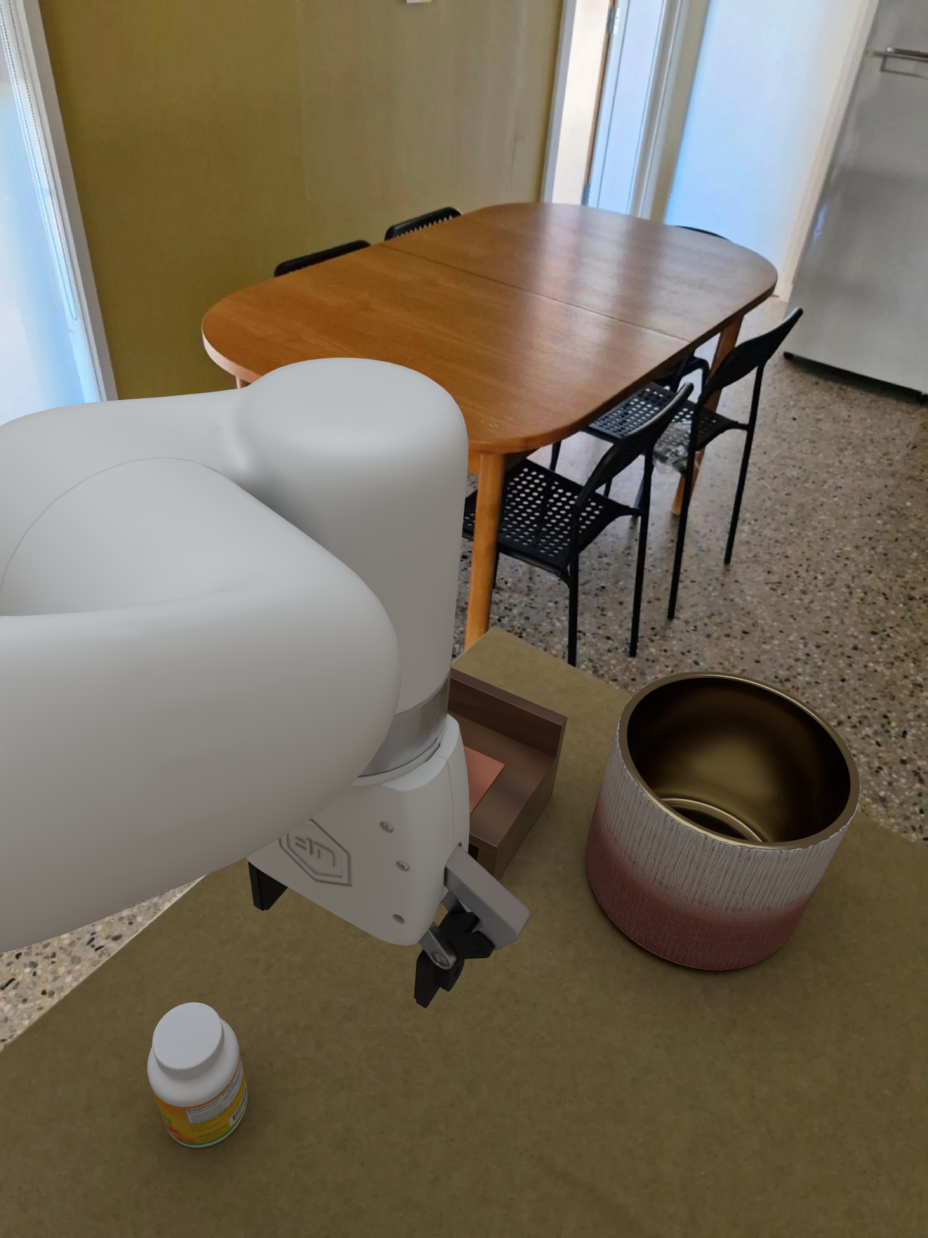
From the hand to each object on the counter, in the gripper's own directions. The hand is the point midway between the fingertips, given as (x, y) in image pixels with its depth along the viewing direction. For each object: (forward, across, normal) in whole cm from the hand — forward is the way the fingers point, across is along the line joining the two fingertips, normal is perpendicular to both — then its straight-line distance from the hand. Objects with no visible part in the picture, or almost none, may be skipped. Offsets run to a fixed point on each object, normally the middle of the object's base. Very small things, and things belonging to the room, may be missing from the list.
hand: (354, 933), depth 45 cm
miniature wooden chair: (+21, -7, +25) cm, 34 cm away
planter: (+21, +13, +30) cm, 39 cm away
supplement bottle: (+22, -9, -5) cm, 24 cm away
